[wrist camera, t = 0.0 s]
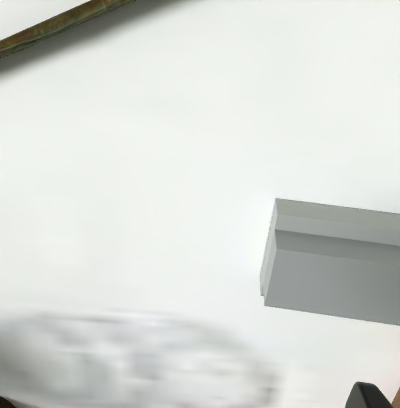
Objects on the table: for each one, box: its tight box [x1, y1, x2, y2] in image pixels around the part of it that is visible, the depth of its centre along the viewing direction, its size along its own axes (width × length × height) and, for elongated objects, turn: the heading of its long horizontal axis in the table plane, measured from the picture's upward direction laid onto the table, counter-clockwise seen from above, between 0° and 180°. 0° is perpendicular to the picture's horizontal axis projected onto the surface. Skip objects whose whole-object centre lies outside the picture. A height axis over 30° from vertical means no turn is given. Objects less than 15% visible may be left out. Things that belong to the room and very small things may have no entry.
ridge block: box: [260, 199, 400, 326], centre depth 22 cm, size 6×10×4 cm, turn 85°
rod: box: [0, 0, 135, 58], centre depth 18 cm, size 31×1×2 cm, turn 110°
